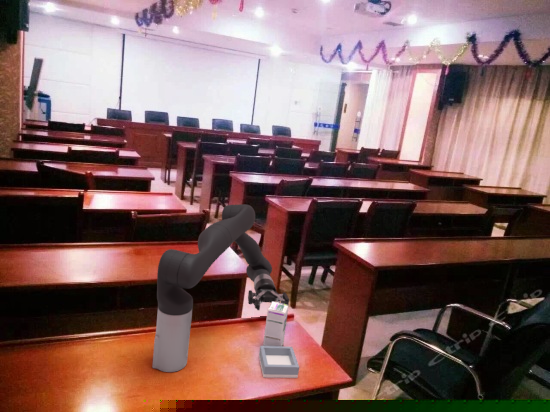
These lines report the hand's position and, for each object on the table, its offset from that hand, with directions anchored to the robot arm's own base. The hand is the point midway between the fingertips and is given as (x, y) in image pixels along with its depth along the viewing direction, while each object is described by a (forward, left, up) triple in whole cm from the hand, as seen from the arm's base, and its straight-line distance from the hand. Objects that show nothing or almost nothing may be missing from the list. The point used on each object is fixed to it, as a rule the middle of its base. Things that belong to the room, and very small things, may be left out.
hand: (271, 308), depth 135 cm
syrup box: (0, -10, -9) cm, 13 cm away
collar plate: (0, -19, -8) cm, 21 cm away
